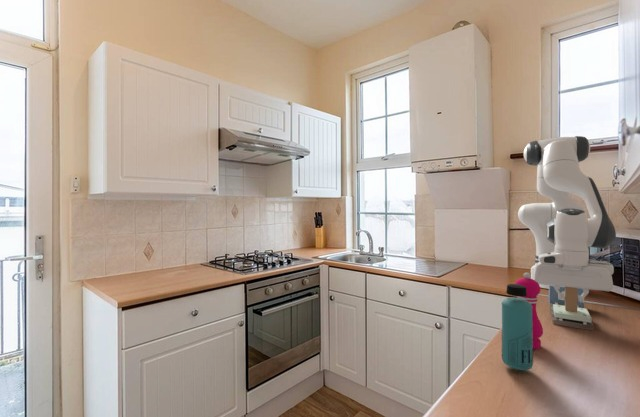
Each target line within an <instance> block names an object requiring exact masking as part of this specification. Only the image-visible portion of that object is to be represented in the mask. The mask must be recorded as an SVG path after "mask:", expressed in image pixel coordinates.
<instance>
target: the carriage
mask: <svg viewBox="0 0 640 417" xmlns="http://www.w3.org/2000/svg"><path fill="white" fill-rule="evenodd" d="M553 311H554V315H555V317H557V318H563V319H570V320H577V321H583V322H590V323H591V322H592V316H591V315H590V313H589V311H588V309H587V308H585V307H584V308H577V288H572V287H565V306H562V305H555V304H553Z"/></svg>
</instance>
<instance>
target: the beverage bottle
mask: <svg viewBox="0 0 640 417" xmlns="http://www.w3.org/2000/svg"><path fill="white" fill-rule="evenodd" d="M506 294H507V295H509V296H510V297H509V296H508V297H506V298H504V299H503V300H502V301H501V337H500V340H501V342H500V343H501V350H500V351H501V353H500V354H501V360H502V362H503V363H504V365H506V366H508V367H510V368H512V369H515V370H520V371H521V370H522V371H528V370H531V369H533V366H534V363H535V361H534V358H535V357H534V356H535V355H534V349H533V322H532V308H533V307H532V305H531V304H530V303H529V302H528V301H527V300H525V299H522V298H517V296H527V291H526V287H525V286H523V285H518V284H515V283H509V284H507V285H506ZM511 296H513V297H511Z"/></svg>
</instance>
